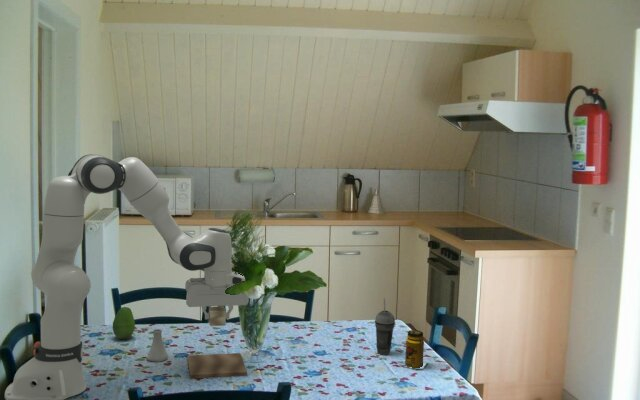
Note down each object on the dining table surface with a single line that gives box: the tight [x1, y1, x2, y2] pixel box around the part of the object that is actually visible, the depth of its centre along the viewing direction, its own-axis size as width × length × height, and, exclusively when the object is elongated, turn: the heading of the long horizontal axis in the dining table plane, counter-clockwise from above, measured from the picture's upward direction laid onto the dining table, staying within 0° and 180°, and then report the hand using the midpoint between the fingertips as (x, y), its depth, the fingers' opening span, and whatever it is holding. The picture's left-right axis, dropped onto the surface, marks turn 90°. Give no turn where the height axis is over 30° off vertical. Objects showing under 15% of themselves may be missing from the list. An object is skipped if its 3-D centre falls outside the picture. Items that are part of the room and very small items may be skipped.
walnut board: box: [187, 352, 248, 380], centre depth 228 cm, size 18×18×1 cm
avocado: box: [112, 306, 136, 340], centre depth 253 cm, size 8×8×12 cm
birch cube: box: [208, 306, 227, 327], centre depth 226 cm, size 5×5×5 cm
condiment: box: [404, 329, 425, 368], centre depth 235 cm, size 7×8×12 cm
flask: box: [146, 328, 169, 362], centre depth 234 cm, size 7×7×10 cm
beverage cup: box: [374, 297, 396, 356], centre depth 246 cm, size 7×7×20 cm
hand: (217, 318), depth 226 cm, fingers closed on birch cube, 5 cm apart
